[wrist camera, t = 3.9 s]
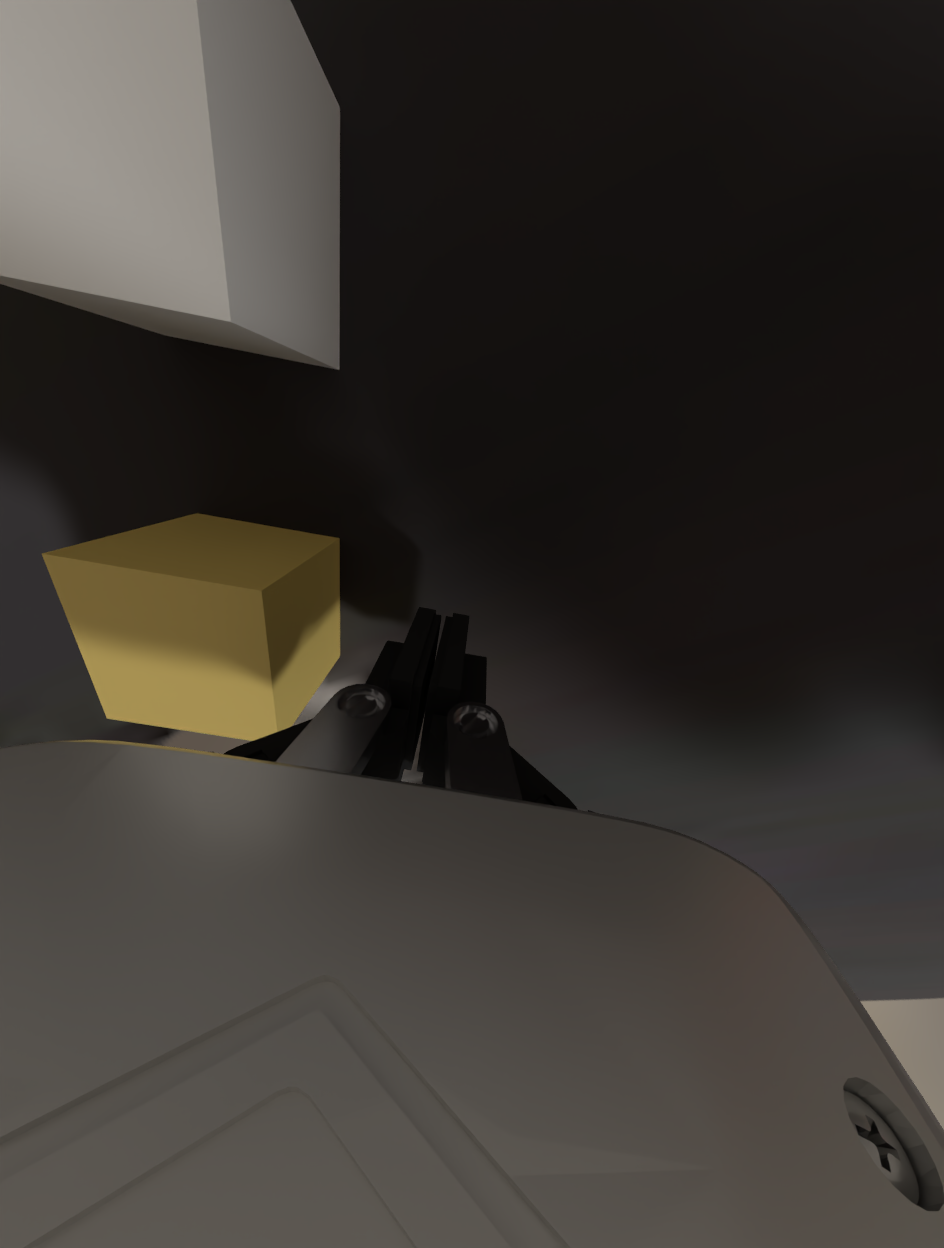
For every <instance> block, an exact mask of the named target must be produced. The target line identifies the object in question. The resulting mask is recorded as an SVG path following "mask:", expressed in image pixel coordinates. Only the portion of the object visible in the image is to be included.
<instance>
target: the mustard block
mask: <svg viewBox="0 0 944 1248" xmlns="http://www.w3.org/2000/svg"><path fill="white" fill-rule="evenodd" d="M42 556H43V558H44V561H45V563H46V566H47V568H48V571H49V573H50V576H51V578H52V581H53V583H54V586H55V588H56V591H57V594H58V596H59V599H60V601H61V604H62V606H63V609H64V611H65V614H66V616H67V619H68V621H69V624H70V626H71V629H72V631H73V634H74V636H75V639H76V641H77V644H78V646H79V649H80V651H81V654H82V656H83V659H84V661H85V664H86V667H87V669H88V672H89V674H90V677H91V679H92V682H93V684H94V687H95V689H96V692H97V694H98V697H99V699H100V702H101V704H102V707H103V709H104V712H105V714H106V717H107V718H108V719H114V720H121V721H127V722H134V723H140V724H147V725H153V726H160V727H166V728H173V729H179V730H186V731H192V732H198V733H205V734H212V735H218V736H225V737H231V738H237V739H244V740H250V741H254V740H257V739H259V738H262V737H265V736H268V735H270V734H273V733H276V732H278V731H281V730H284V729H287V728H289V727H292V725H293V724H294V722H295V721H296V719H297V718H298V716H299V715H300V714H301V712H302V711H303V709H304V708H305V706H306V705H307V703H308V702H309V700H310V699H311V698H312V696H313V695H314V693H315V692H316V690H317V689H318V687H319V686H320V684H321V683H322V682H323V680H324V679H325V677H326V676H327V674H328V673H329V671H330V670H331V668H332V667H333V666H334V664H335V663H336V661H337V660H338V658H339V657H340V538H335V537H330V536H324V535H318V534H312V533H307V532H301V531H295V530H290V529H284V528H278V527H273V526H267V525H261V524H256V523H250V522H244V521H238V520H233V519H227V518H221V517H216V516H210V515H204V514H199V513H196V514H192V515H188V516H184V517H180V518H176V519H173V520H169V521H165V522H161V523H157V524H154V525H150V526H146V527H142V528H138V529H134V530H131V531H127V532H123V533H119V534H115V535H111V536H108V537H104V538H100V539H96V540H92V541H88V542H85V543H81V544H77V545H73V546H69V547H66V548H62V549H58V550H54V551H50V552H46V553H43V554H42Z"/></svg>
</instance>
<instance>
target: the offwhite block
mask: <svg viewBox="0 0 944 1248" xmlns="http://www.w3.org/2000/svg"><path fill="white" fill-rule="evenodd" d="M0 284H2V285H6V286H9V287H12V288H15V289H18V290H22V291H25V292H28V293H31V294H34V295H38V296H41V297H44V298H47V299H50V300H54V301H57V302H60V303H63V304H66V305H70V306H73V307H76V308H79V309H82V310H85V311H89V312H92V313H95V314H98V315H101V316H105V317H108V318H111V319H114V320H117V321H121V322H124V323H127V324H130V325H133V326H137V327H140V328H143V329H146V330H149V331H153V332H156V333H159V334H162V335H166V336H171V337H176V338H181V339H186V340H191V341H196V342H201V343H206V344H211V345H216V346H221V347H226V348H231V349H236V350H241V351H246V352H251V353H256V354H261V355H266V356H271V357H276V358H281V359H286V360H291V361H297V362H302V363H307V364H312V365H317V366H322V367H327V368H332V369H337V370H339V343H340V107H339V104H338V102H337V100H336V98H335V96H334V94H333V91H332V89H331V87H330V85H329V83H328V81H327V78H326V76H325V74H324V72H323V70H322V68H321V65H320V63H319V61H318V59H317V57H316V55H315V52H314V50H313V48H312V46H311V44H310V42H309V39H308V37H307V35H306V33H305V31H304V29H303V26H302V24H301V22H300V20H299V18H298V16H297V13H296V11H295V9H294V7H293V5H292V3H291V0H0Z"/></svg>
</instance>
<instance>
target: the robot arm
mask: <svg viewBox="0 0 944 1248" xmlns="http://www.w3.org/2000/svg"><path fill="white" fill-rule="evenodd" d="M440 622H441V615H436V610H432V609H427V608H421V607H419V609H418V611H417V614H416V616H415V618H414V621H413V623H412V625H411V628H410V630H409V633H408V635H407V637H406V640H405V642H404V643H400V642H394V641H387V642H386V644H385V646H384V648H383V650H382V652H381V654H380V656H379V658H378V660H377V662H376V664H375V666H374V668H373V670H372V672H371V674H370V676H369V678H368V679H367V681H366V683H365V684H355V685H351V686H347V687H345V688H343V689H341V690H339V691H338V692H337V693H336V694H335V695H334V696H333V697H332V698H331V699H330V700H329V701H328V703H327V704H326V705H325V706H324V707H323V708H322V709H321V711H320V712H319V713H318V714H317V715H316V716H315V717H314V718H313V719H311V720H308V721H306V722H303V723H300V724H297V725H295V726H292V727H289V728H287V729H284V730H281V731H278V732H276V733H273V734H270V735H268V736H265V737H262V738H259V739H257V740H254V741H251V742H249V743H246V744H243V745H240V746H238V747H236V748H234V749H231V750H229V751H227V752H226V753H224V754H217V753H214V752H203V751H196V750H190V749H183V748H175V747H166V746H158V745H149V744H140V743H131V742H122V741H105V740H65V741H48V742H40V743H31V744H22V745H14V746H8V747H3V748H0V1248H944V1130H943V1128H942V1126H941V1125H940V1123H939V1122H938V1120H937V1119H936V1117H935V1115H934V1114H933V1112H932V1111H931V1109H930V1107H929V1106H928V1104H927V1103H926V1101H925V1100H924V1098H923V1096H922V1095H921V1093H920V1092H919V1090H918V1089H917V1087H916V1086H915V1084H914V1083H913V1082H912V1080H911V1078H910V1077H909V1075H908V1074H907V1072H906V1071H905V1069H904V1068H903V1066H902V1064H901V1063H900V1061H899V1060H898V1059H897V1057H896V1055H895V1054H894V1052H893V1051H892V1049H891V1048H890V1046H889V1045H888V1043H887V1042H886V1040H885V1039H884V1037H883V1036H882V1034H881V1033H880V1031H879V1030H878V1028H877V1026H876V1025H875V1023H874V1022H873V1020H872V1019H871V1017H870V1016H869V1014H868V1013H867V1011H866V1010H865V1008H864V1007H863V1005H862V1004H861V1002H860V1000H859V999H858V998H857V996H856V995H855V993H854V992H853V990H852V989H851V987H850V986H849V984H848V983H847V982H846V980H845V979H844V977H843V976H842V974H841V973H840V971H839V970H838V968H837V967H836V966H835V964H834V963H833V961H832V960H831V958H830V957H829V956H828V954H827V953H826V952H825V950H824V949H823V947H822V946H821V945H820V943H819V942H818V940H817V939H816V938H815V936H814V935H813V934H812V932H811V931H810V929H809V928H808V927H807V925H806V924H805V923H804V922H803V920H802V919H801V918H800V916H799V915H798V914H797V913H796V911H795V910H794V909H793V908H792V907H791V906H790V904H789V903H788V902H787V901H786V900H785V898H784V897H783V896H782V895H781V894H780V893H779V892H778V891H777V890H776V889H775V888H774V887H773V886H772V885H771V884H770V883H769V882H767V881H766V880H765V879H764V878H763V877H761V876H760V875H759V874H758V873H757V872H755V871H754V870H752V869H751V868H749V867H748V866H746V865H745V864H743V863H742V862H740V861H738V860H736V859H735V858H733V857H731V856H730V855H728V854H726V853H724V852H722V851H720V850H718V849H716V848H714V847H712V846H710V845H708V844H706V843H704V842H702V841H700V840H697V839H694V838H692V837H689V836H686V835H684V834H681V833H678V832H676V831H673V830H670V829H666V828H662V827H659V826H655V825H652V824H648V823H644V822H639V821H634V820H629V819H624V818H619V817H614V816H609V815H604V814H599V813H595V812H592V811H589V810H588V811H582V810H577V808H576V806H575V805H574V804H573V803H572V802H571V801H570V799H569V798H568V797H566V796H565V795H564V794H563V793H562V792H561V791H560V790H559V789H557V788H556V787H555V786H554V785H553V784H552V783H551V782H550V781H548V780H547V779H546V778H545V777H544V776H543V775H542V774H541V773H539V772H538V771H537V770H536V769H535V768H534V767H533V766H532V765H531V764H529V763H528V762H527V761H526V760H525V759H524V758H523V757H522V756H520V755H519V754H518V753H517V752H516V751H515V750H514V749H513V748H511V747H510V746H509V742H508V738H507V734H506V730H505V726H504V722H503V720H502V718H501V716H500V715H499V714H498V712H497V711H496V710H494V709H493V708H491V707H490V706H488V705H486V666H487V658H486V657H482V656H476V655H470V654H465V649H466V641H467V632H468V624H469V616H467V615H461V614H456V613H453V617H448V616H446V620H445V624H444V628H443V632H442V636H441V640H440V644H439V648H438V652H437V656H436V650H437V643H438V636H439V629H440ZM435 657H436V660H435ZM434 663H435V664H434ZM424 714H425V717H424ZM423 718H424V724H423V731H422V738H421V745H420V752H419V759H418V767H417V771H419V772H424V773H423V779H422V782H423V784H415V783H409V782H402V781H401V779H402V775H403V771H404V769H407V770H411V768H412V764H413V760H414V756H415V752H416V748H417V743H418V739H419V735H420V731H421V727H422V723H423Z"/></svg>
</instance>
